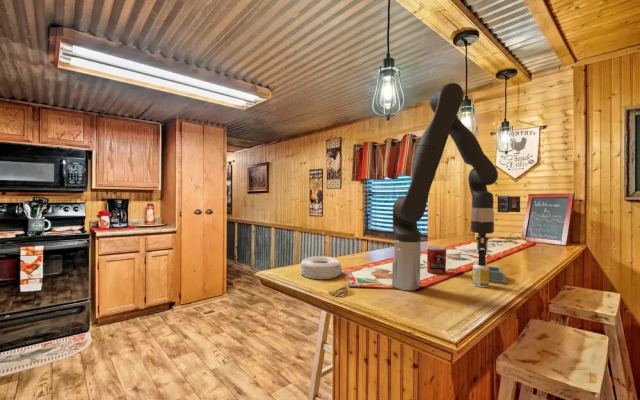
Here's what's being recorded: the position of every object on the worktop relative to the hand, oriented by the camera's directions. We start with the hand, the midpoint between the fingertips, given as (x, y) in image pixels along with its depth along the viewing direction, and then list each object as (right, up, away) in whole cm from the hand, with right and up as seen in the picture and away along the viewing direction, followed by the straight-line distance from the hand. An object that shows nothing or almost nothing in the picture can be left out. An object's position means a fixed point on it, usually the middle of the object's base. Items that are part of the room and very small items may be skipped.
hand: (481, 262), depth 113 cm
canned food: (-10, -8, +18) cm, 22 cm away
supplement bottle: (0, -9, 0) cm, 9 cm away
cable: (-61, -8, +14) cm, 63 cm away
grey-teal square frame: (+8, -8, +9) cm, 15 cm away
